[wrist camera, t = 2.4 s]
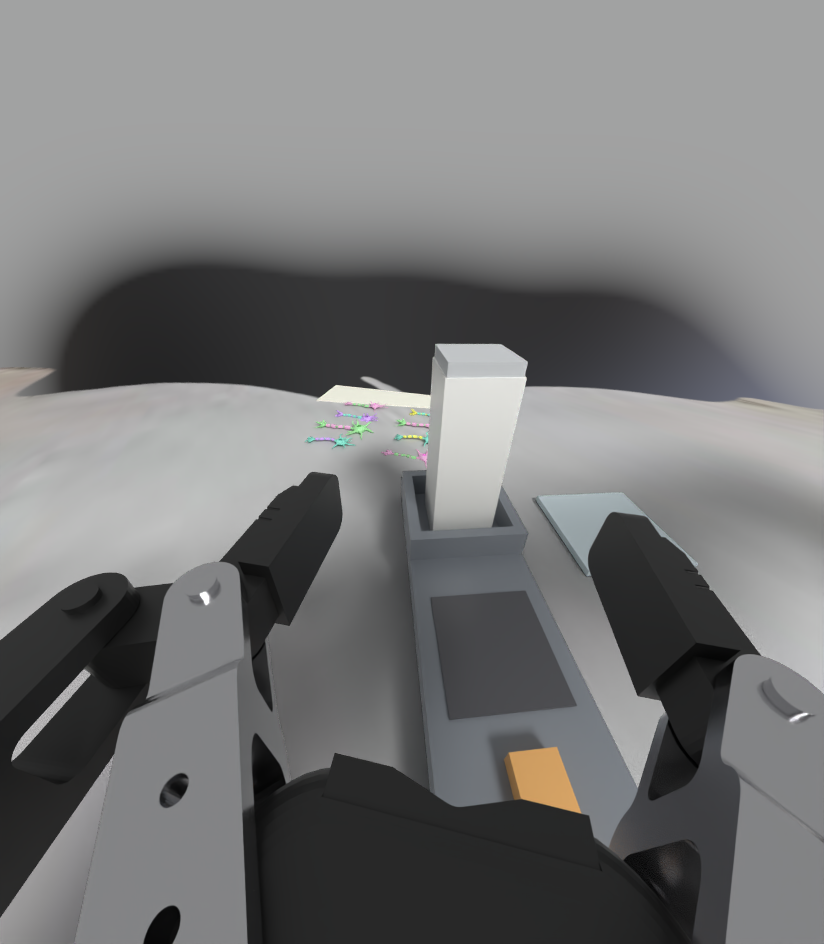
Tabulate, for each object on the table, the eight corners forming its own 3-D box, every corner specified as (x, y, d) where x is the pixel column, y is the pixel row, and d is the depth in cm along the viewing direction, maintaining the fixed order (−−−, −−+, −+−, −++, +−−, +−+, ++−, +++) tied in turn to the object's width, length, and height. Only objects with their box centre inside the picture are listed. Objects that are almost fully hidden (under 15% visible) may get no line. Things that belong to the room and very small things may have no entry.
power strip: (478, 493, 31) (485, 456, 29) (851, 1350, 7) (1136, 1630, 4) (401, 496, 30) (401, 459, 28) (496, 1467, 6) (568, 1890, 3)
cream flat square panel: (497, 404, 52) (498, 396, 51) (492, 527, 28) (495, 516, 28) (336, 386, 58) (335, 379, 57) (219, 478, 34) (215, 467, 33)
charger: (474, 499, 26) (502, 343, 19) (489, 536, 23) (530, 362, 16) (424, 501, 26) (433, 343, 19) (432, 539, 23) (446, 362, 15)
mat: (619, 496, 31) (622, 492, 31) (694, 568, 24) (698, 564, 23) (535, 500, 30) (537, 495, 30) (586, 576, 23) (589, 571, 23)
